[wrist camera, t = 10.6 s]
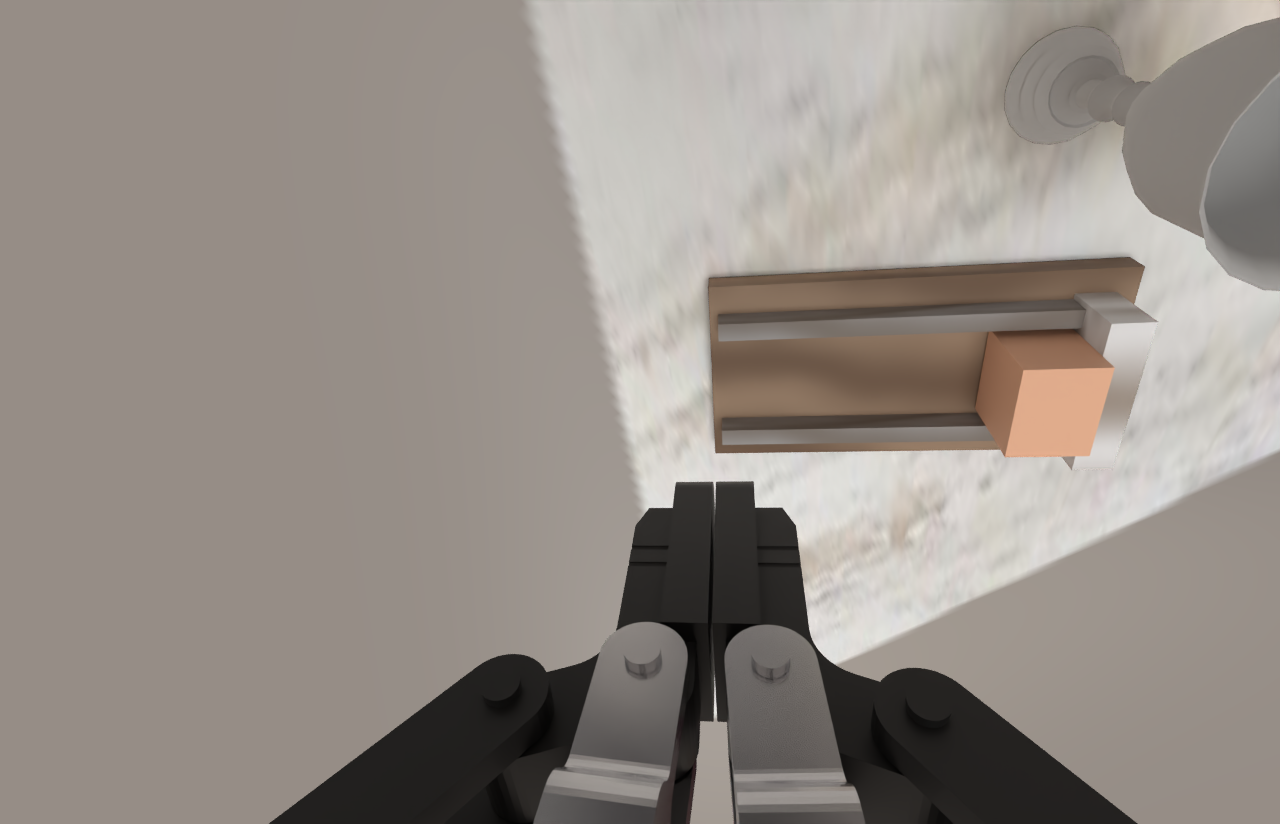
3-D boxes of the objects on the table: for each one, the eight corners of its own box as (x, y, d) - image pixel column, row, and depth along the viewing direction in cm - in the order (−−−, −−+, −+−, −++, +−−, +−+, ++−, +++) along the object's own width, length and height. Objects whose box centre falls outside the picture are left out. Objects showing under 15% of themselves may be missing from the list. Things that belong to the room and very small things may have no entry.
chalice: (1019, 194, 35) (1251, 340, 19) (953, 81, 32) (1156, 144, 17) (1173, 94, 32) (1592, 172, 16) (1112, -39, 30) (1530, -93, 14)
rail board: (709, 278, 39) (706, 315, 34) (1129, 257, 36) (1190, 294, 31) (715, 440, 44) (714, 491, 40) (1081, 434, 41) (1126, 489, 36)
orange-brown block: (989, 328, 37) (1023, 370, 32) (1069, 325, 36) (1115, 367, 32) (975, 408, 39) (1005, 457, 35) (1049, 406, 39) (1089, 456, 34)
